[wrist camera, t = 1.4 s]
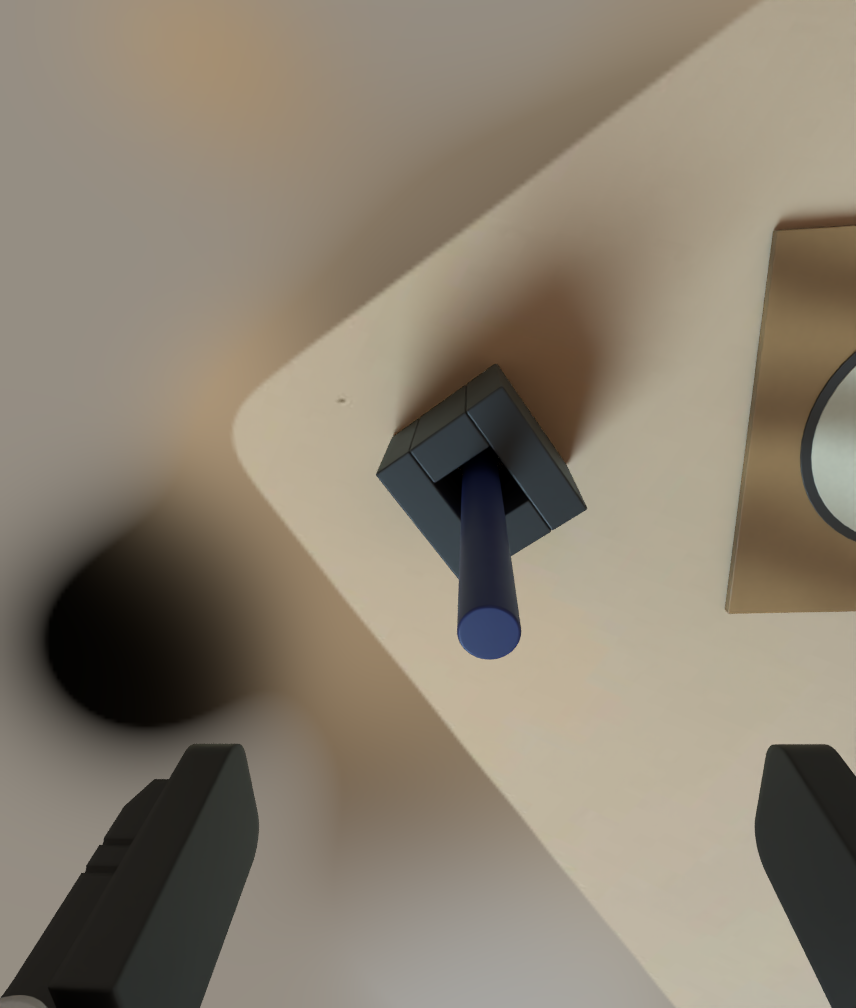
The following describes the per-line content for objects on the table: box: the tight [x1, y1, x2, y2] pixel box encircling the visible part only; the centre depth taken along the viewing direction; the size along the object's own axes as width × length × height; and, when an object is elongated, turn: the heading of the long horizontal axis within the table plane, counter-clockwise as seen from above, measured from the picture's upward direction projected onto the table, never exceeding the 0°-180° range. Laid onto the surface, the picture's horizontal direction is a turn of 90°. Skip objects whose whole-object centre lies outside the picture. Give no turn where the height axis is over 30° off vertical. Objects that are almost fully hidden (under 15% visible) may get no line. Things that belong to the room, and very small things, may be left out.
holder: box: [376, 364, 587, 579], centre depth 24 cm, size 5×5×5 cm
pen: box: [457, 446, 521, 659], centre depth 20 cm, size 1×1×14 cm
